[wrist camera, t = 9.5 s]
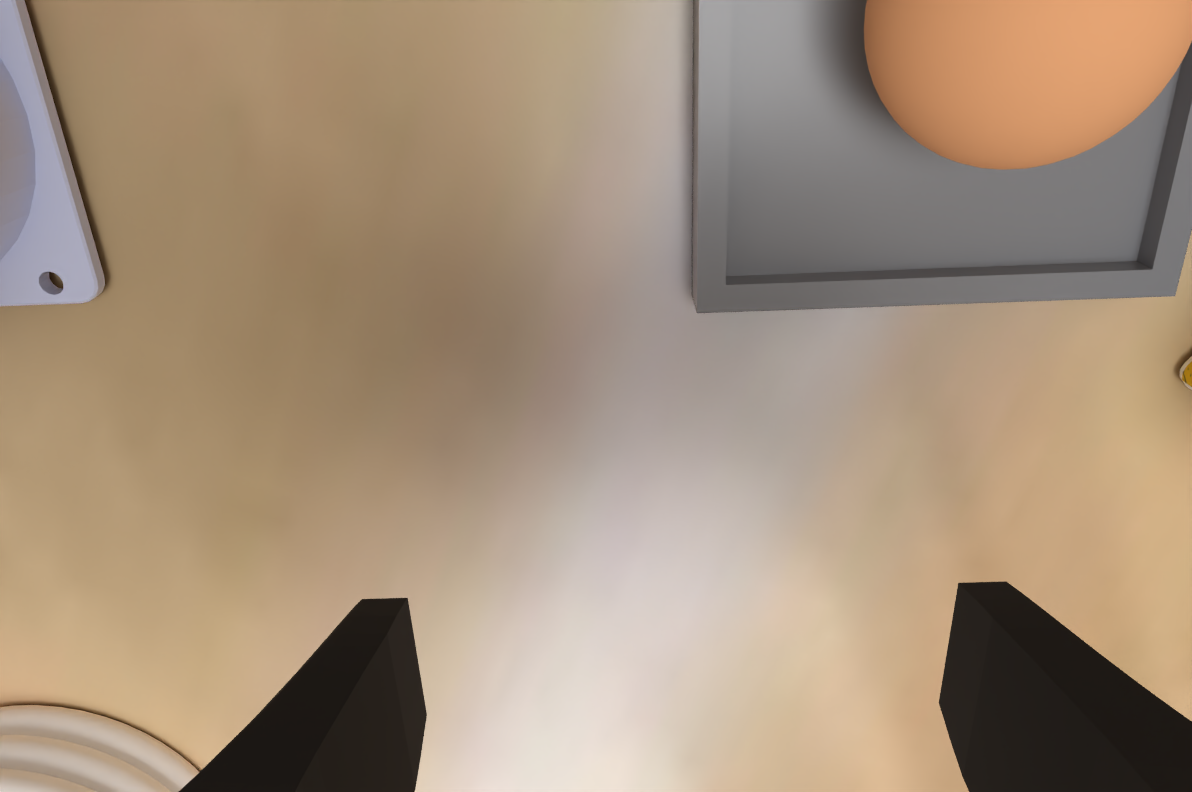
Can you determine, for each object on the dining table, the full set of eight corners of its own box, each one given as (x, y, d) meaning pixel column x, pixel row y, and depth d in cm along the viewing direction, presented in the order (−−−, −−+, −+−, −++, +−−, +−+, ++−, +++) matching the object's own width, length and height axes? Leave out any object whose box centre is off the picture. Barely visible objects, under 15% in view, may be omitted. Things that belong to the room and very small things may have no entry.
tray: (692, 294, 20) (696, 313, 19) (694, -315, 15) (701, -336, 14) (1143, 278, 20) (1175, 295, 19) (1288, -346, 15) (1341, -371, 14)
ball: (827, 157, 18) (923, 218, 14) (827, -127, 16) (941, -168, 11) (1073, 127, 18) (1251, 177, 14) (1106, -162, 16) (1330, -217, 11)
